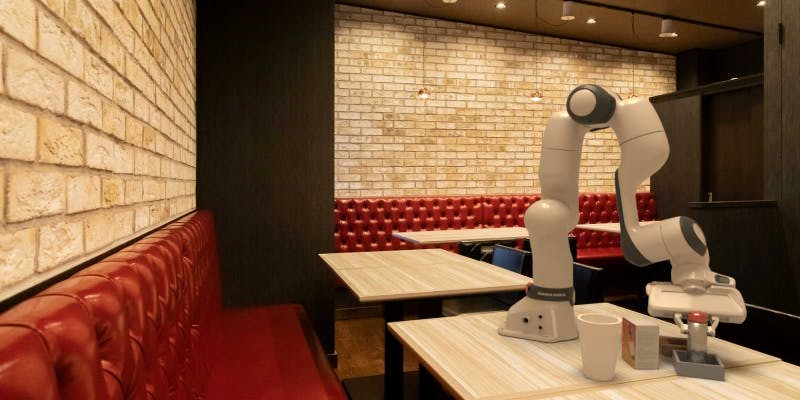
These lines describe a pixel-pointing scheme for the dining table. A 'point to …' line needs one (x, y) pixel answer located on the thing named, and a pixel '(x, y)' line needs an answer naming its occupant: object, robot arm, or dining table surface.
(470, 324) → the dining table surface
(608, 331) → the foam cup
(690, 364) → the tray
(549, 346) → the dining table surface
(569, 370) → the dining table surface
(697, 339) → the red-lidded jar
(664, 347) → the wooden square frame
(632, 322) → the small box
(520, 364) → the dining table surface
